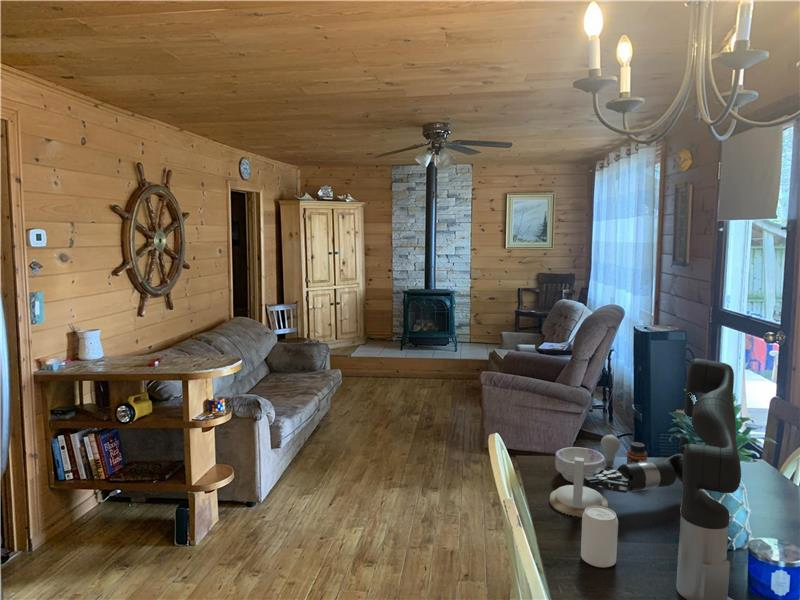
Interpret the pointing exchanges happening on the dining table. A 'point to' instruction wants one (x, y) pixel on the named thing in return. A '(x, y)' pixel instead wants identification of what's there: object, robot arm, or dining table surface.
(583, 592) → the dining table surface
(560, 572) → the dining table surface
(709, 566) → the robot arm
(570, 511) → the dial base
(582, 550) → the beverage can
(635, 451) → the supplement bottle
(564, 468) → the paper bowls
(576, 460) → the dial
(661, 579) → the dining table surface
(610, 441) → the lightbulb
